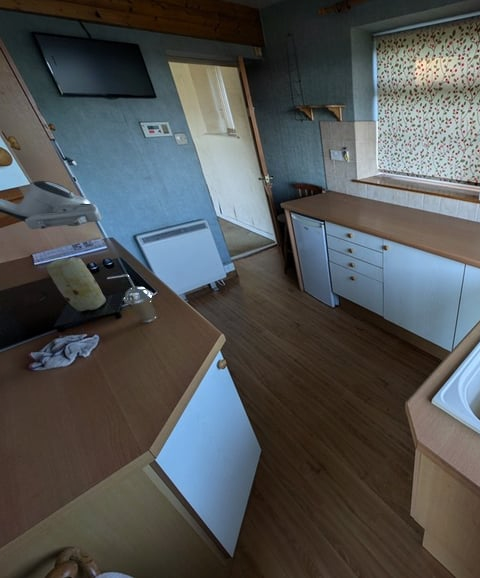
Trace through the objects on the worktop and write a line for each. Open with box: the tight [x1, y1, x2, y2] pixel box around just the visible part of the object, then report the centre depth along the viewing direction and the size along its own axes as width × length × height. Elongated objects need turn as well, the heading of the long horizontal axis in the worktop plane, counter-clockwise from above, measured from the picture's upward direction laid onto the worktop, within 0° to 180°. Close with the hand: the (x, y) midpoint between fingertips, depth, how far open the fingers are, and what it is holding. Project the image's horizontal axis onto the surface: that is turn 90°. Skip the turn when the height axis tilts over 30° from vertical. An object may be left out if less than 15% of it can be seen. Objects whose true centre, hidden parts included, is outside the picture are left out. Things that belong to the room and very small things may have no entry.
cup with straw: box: [106, 274, 158, 324], centre depth 105 cm, size 8×9×20 cm
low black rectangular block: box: [52, 291, 126, 334], centre depth 112 cm, size 18×16×3 cm
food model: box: [45, 257, 106, 311], centre depth 106 cm, size 10×7×20 cm
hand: (59, 224), depth 105 cm, fingers open, 8 cm apart
